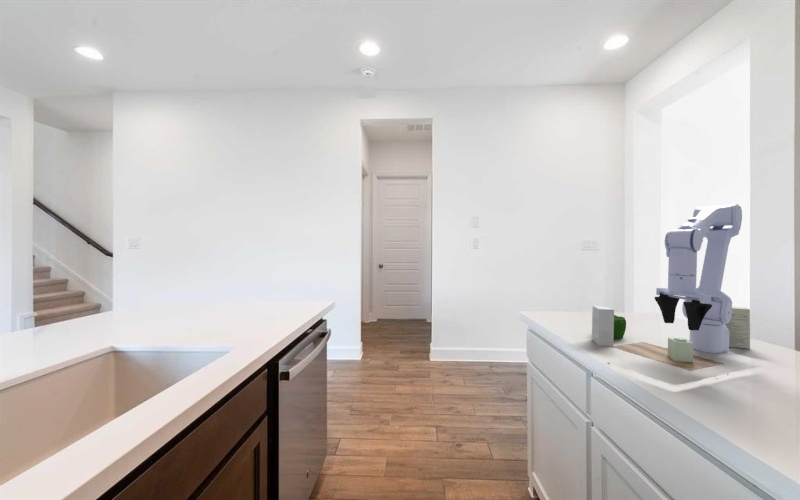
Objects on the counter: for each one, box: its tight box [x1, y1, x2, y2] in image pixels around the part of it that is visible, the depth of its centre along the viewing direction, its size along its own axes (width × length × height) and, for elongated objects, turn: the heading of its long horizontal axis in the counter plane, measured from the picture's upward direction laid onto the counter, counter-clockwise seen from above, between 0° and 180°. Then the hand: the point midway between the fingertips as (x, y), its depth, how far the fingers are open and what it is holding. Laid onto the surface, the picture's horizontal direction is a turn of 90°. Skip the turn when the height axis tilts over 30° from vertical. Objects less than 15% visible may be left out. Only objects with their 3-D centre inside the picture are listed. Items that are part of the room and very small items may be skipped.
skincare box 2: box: [724, 306, 751, 350], centre depth 105 cm, size 6×4×12 cm
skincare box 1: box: [591, 305, 615, 347], centre depth 104 cm, size 6×4×12 cm
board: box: [611, 341, 724, 371], centre depth 93 cm, size 14×20×1 cm
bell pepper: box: [614, 314, 627, 340], centre depth 111 cm, size 8×8×10 cm
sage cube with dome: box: [667, 337, 694, 362], centre depth 89 cm, size 4×4×5 cm
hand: (680, 326), depth 89 cm, fingers open, 7 cm apart
